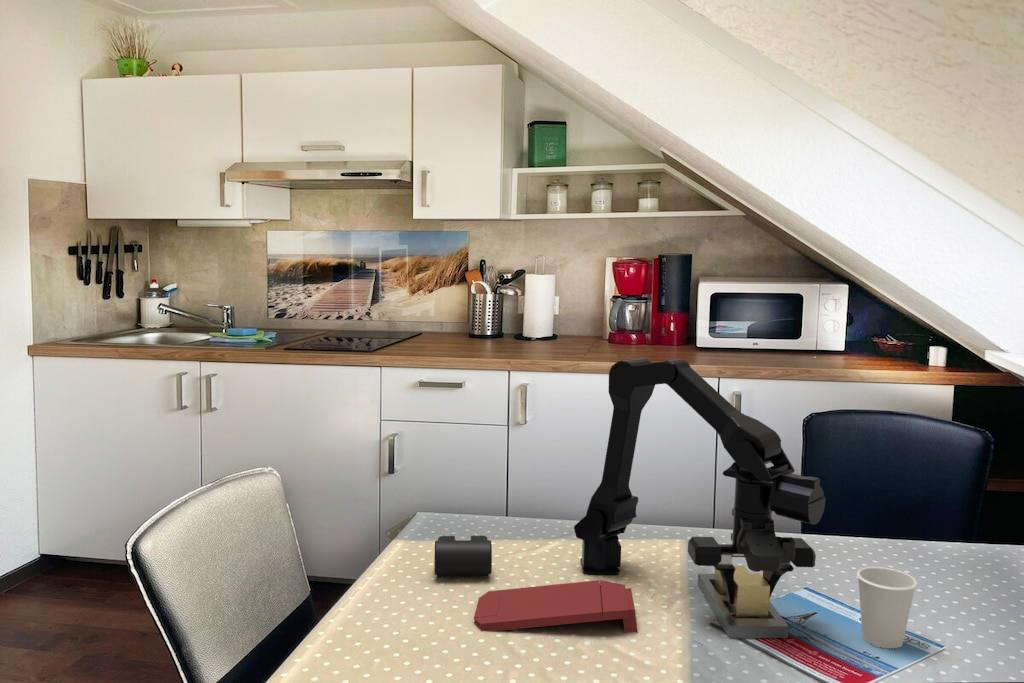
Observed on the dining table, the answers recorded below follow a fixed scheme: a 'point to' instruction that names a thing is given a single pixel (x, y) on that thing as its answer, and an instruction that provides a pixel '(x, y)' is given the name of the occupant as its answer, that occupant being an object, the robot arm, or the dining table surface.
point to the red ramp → (556, 606)
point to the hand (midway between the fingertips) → (747, 603)
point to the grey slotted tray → (739, 626)
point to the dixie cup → (885, 605)
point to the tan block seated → (719, 582)
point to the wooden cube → (750, 595)
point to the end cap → (463, 557)
